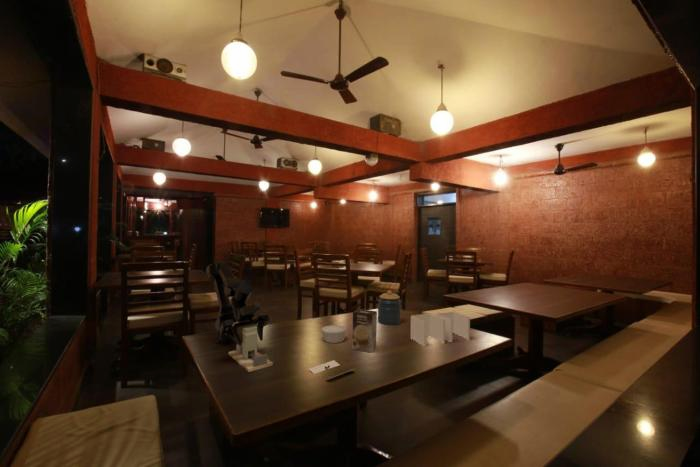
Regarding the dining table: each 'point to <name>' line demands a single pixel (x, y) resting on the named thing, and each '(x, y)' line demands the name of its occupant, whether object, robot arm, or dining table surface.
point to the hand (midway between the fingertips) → (251, 342)
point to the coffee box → (364, 330)
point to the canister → (389, 309)
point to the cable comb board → (248, 361)
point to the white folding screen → (439, 326)
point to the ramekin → (334, 333)
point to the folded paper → (325, 367)
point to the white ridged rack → (253, 356)
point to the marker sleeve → (249, 341)
